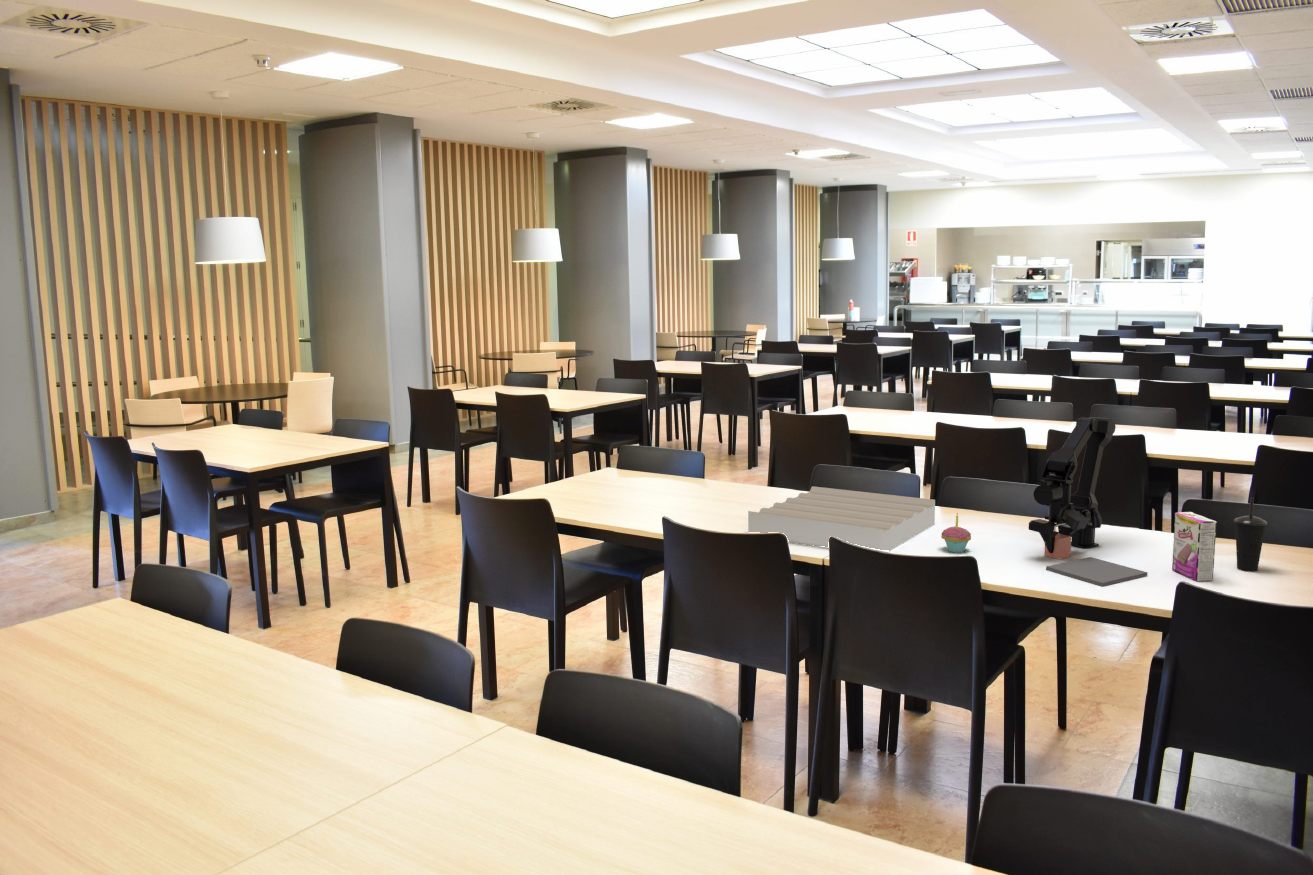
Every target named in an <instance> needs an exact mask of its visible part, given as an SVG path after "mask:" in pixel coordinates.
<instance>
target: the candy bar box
mask: <svg viewBox="0 0 1313 875" xmlns="http://www.w3.org/2000/svg"><path fill="white" fill-rule="evenodd" d="M1217 523H1218V521H1216V520H1213V519H1211V518H1208V517H1206V516H1203V515H1200V514H1198V513H1195V512H1193V511H1182V512H1181V511H1177V512H1174V523H1173V524H1174V526H1173V527H1174V528H1173V545H1172V546H1173V548H1172V549H1173V550H1172V565H1171V566H1172V567H1171V570H1172V571H1174V572H1176V573H1178V574H1180V575H1182V576H1184V577H1185V578H1188V579H1191V580H1193V582H1199V583H1200V582H1202V583H1203V582H1211V581H1212V582H1213V581H1214V571H1215V570H1214V568H1215V556H1216V555H1215V554H1216V539H1217V538H1216V537H1217V536H1216V535H1217Z"/></svg>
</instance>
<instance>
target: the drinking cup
mask: <svg viewBox="0 0 1313 875" xmlns="http://www.w3.org/2000/svg"><path fill="white" fill-rule="evenodd" d="M1254 500H1255V499H1254V497H1250V503H1249V515H1242V516H1239V517H1235V518H1234V520H1233V521H1234V523H1235V526H1234V527H1235V544H1236V546H1235V550H1236V568H1237V569H1238V570H1239V571H1243V572H1258V570H1259V562H1260V558H1261V552H1262V547H1263V541H1264V535H1265V530H1266V526H1267V525H1268V522H1267V520H1265V519H1263V518H1261V517H1258V516H1255V515H1253V514H1254V513H1253V512H1254Z"/></svg>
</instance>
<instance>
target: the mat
mask: <svg viewBox="0 0 1313 875" xmlns="http://www.w3.org/2000/svg"><path fill="white" fill-rule="evenodd" d="M1045 570H1046V571H1048V570H1049V571H1048V572H1052V573H1055V574H1058V573H1059V575H1062V576H1066V577H1070V578H1072V579H1076V580H1079V581H1083V582H1085V583H1089V584H1092V585H1096V586H1099V587H1106V586H1107V587H1108V586H1111V585H1114V584H1120V583H1123V582H1128V581H1131V580H1135V579H1140V578H1144V577H1148V572H1147V571H1145V570H1141V569H1137V568H1134V567H1129V566H1126V565H1122V564H1119V563H1114V562H1111V561H1106V560H1104V559H1103V560H1102V559H1099V558H1096V557H1092V556H1089V557H1088V556H1087V557H1083V558H1079V559H1075V560H1069V561H1065V562H1060V563H1057V564H1050V565H1046V567H1045Z"/></svg>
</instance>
